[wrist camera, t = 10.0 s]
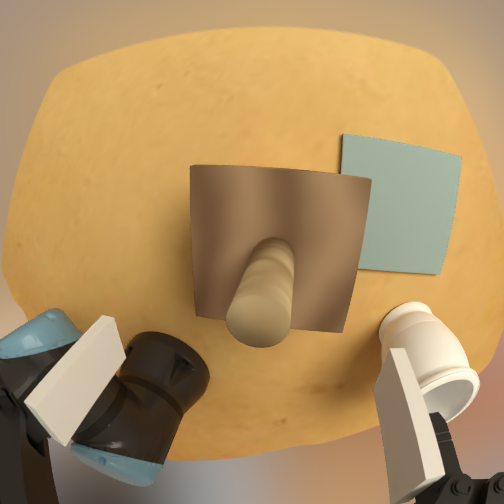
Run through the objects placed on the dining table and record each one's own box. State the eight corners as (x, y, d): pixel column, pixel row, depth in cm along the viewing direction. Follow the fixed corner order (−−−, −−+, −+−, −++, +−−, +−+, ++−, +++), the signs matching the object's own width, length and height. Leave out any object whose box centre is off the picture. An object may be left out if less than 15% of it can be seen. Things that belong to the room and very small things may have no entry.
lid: (199, 309, 27) (158, 382, 18) (195, 164, 22) (125, 184, 13) (341, 325, 25) (352, 409, 16) (368, 177, 20) (418, 207, 11)
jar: (392, 285, 32) (432, 368, 18) (449, 302, 31) (496, 374, 17) (359, 347, 36) (373, 435, 22) (414, 358, 35) (440, 434, 22)
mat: (330, 264, 32) (330, 266, 32) (342, 134, 26) (343, 133, 26) (438, 272, 30) (440, 274, 29) (459, 156, 24) (461, 156, 24)
